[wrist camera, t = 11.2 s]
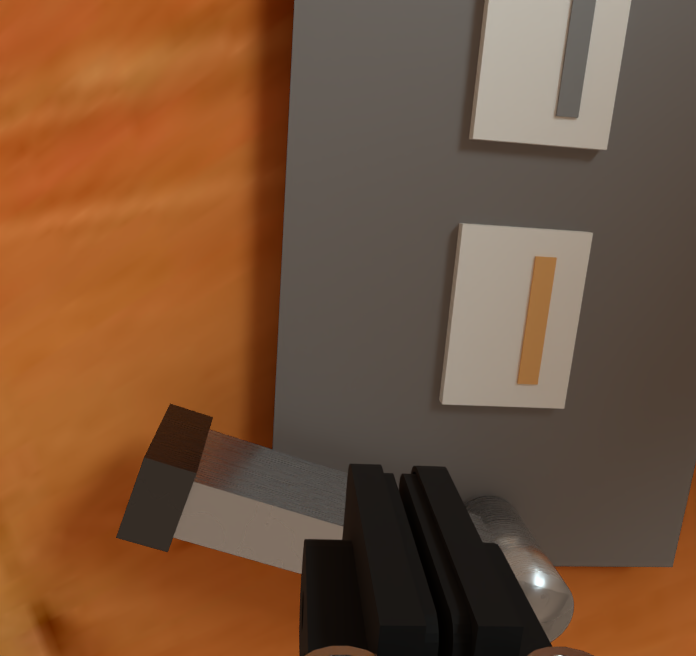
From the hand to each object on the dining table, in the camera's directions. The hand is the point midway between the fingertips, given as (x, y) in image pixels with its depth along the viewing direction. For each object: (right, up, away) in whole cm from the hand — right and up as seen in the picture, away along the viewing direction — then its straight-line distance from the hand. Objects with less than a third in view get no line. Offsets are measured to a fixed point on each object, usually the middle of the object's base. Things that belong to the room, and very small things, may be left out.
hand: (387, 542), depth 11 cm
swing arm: (-1, -3, +15) cm, 15 cm away
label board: (+6, +6, +15) cm, 17 cm away
